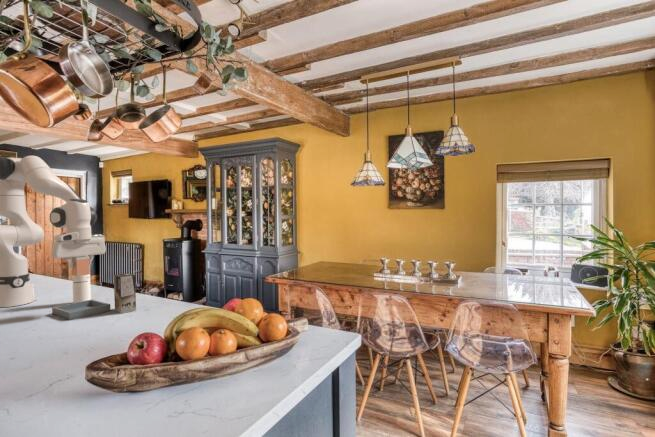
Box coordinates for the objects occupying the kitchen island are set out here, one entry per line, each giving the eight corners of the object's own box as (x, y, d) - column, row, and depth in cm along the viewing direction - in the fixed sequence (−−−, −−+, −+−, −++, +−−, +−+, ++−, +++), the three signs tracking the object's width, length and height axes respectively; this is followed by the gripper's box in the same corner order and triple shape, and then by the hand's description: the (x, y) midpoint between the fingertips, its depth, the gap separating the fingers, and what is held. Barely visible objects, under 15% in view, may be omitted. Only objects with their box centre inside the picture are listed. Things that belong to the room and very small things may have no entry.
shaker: (71, 275, 158) (71, 257, 158) (84, 273, 162) (83, 255, 162) (77, 276, 155) (76, 257, 155) (89, 274, 159) (89, 256, 159)
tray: (52, 314, 157) (52, 307, 157) (92, 305, 170) (92, 299, 170) (69, 320, 148) (69, 313, 148) (110, 310, 161) (110, 304, 161)
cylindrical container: (94, 301, 179) (93, 251, 178) (83, 305, 172) (81, 253, 171) (81, 301, 180) (79, 251, 179) (69, 304, 172) (68, 253, 172)
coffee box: (136, 310, 161) (135, 274, 161) (121, 313, 156) (120, 277, 156) (129, 307, 167) (128, 272, 167) (114, 309, 163) (113, 274, 162)
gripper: (101, 233, 169) (102, 263, 169) (49, 236, 151) (50, 269, 152) (108, 234, 165) (108, 263, 165) (55, 237, 148) (56, 270, 148)
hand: (80, 266), depth 158 cm, fingers closed on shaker, 5 cm apart
